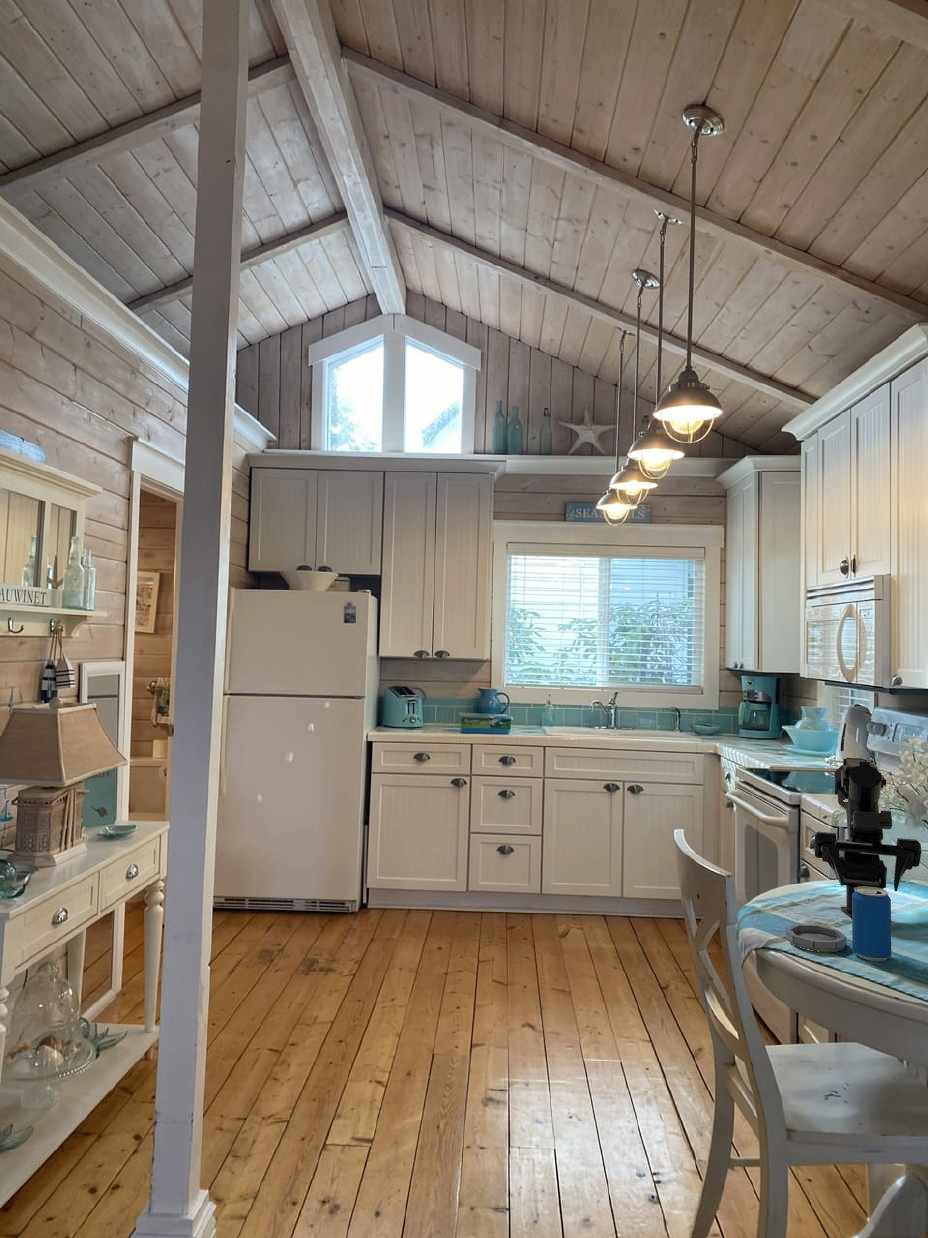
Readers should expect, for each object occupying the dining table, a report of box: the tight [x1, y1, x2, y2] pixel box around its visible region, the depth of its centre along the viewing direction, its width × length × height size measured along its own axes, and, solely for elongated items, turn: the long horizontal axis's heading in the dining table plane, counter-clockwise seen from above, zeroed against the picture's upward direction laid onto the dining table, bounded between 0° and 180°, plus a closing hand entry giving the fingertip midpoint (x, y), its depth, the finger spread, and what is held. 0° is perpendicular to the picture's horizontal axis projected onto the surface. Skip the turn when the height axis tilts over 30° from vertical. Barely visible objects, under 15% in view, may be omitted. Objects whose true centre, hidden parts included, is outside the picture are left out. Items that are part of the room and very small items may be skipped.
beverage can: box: [851, 886, 892, 962], centre depth 155 cm, size 6×6×12 cm
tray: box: [785, 923, 847, 953], centre depth 161 cm, size 10×10×2 cm
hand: (868, 887), depth 159 cm, fingers open, 9 cm apart
